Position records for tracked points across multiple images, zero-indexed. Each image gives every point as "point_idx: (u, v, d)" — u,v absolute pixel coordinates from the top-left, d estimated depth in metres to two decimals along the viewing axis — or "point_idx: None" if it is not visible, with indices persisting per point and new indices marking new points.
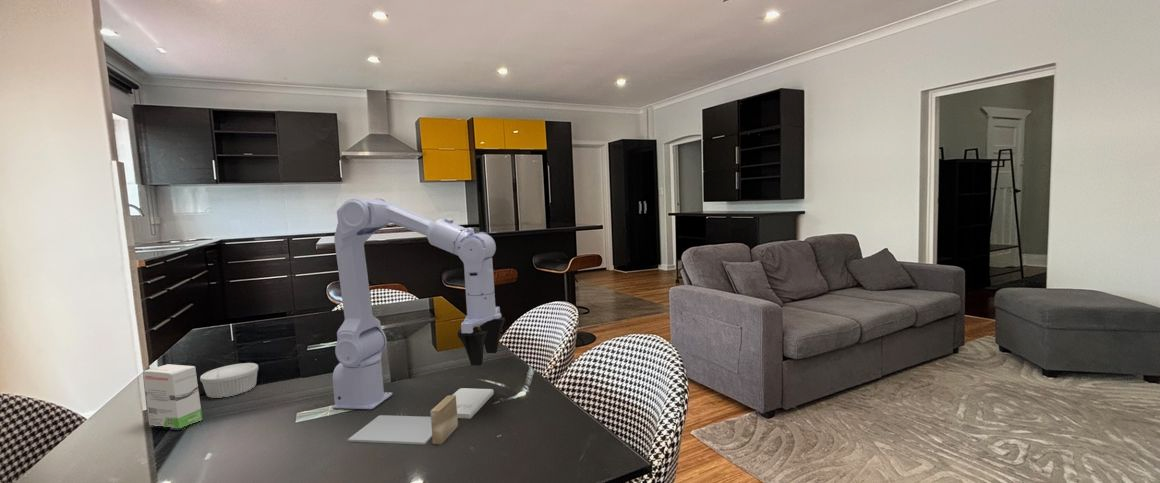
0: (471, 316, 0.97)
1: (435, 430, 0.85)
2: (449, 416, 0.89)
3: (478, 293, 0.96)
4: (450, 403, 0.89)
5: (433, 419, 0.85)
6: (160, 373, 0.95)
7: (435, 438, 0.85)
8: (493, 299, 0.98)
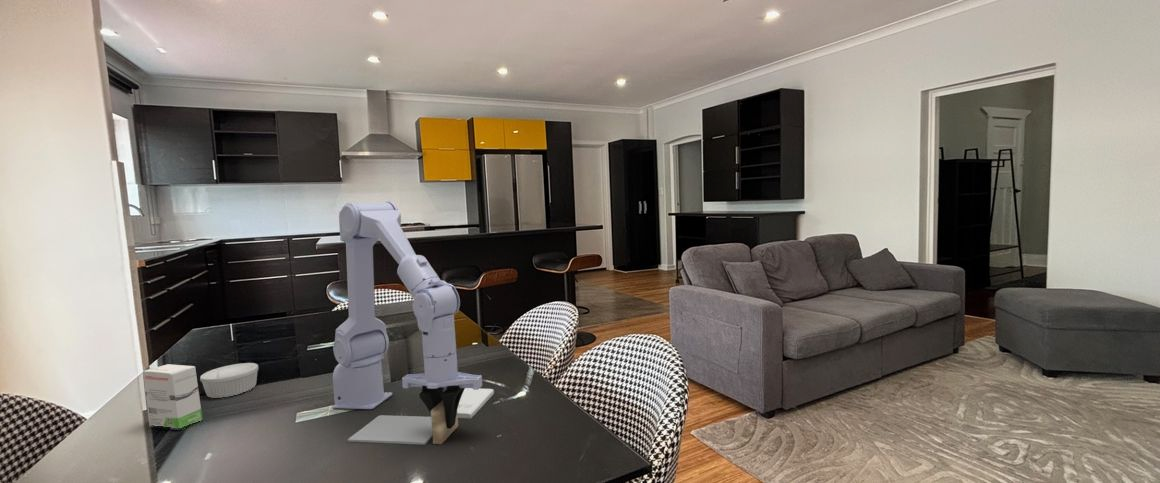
0: None
1: (435, 430, 0.85)
2: None
3: (429, 355, 0.85)
4: None
5: (433, 419, 0.85)
6: (160, 373, 0.95)
7: (435, 438, 0.85)
8: (432, 365, 0.85)
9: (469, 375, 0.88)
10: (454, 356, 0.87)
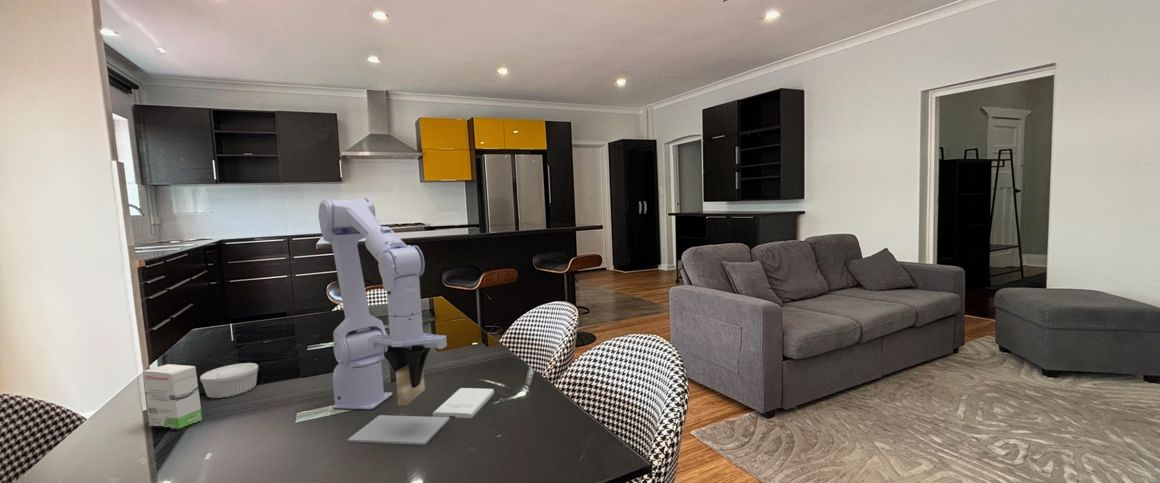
0: None
1: (400, 391, 0.87)
2: None
3: (392, 314, 0.86)
4: None
5: (398, 380, 0.87)
6: (160, 373, 0.96)
7: (400, 399, 0.87)
8: (397, 324, 0.86)
9: (434, 335, 0.90)
10: (419, 316, 0.88)
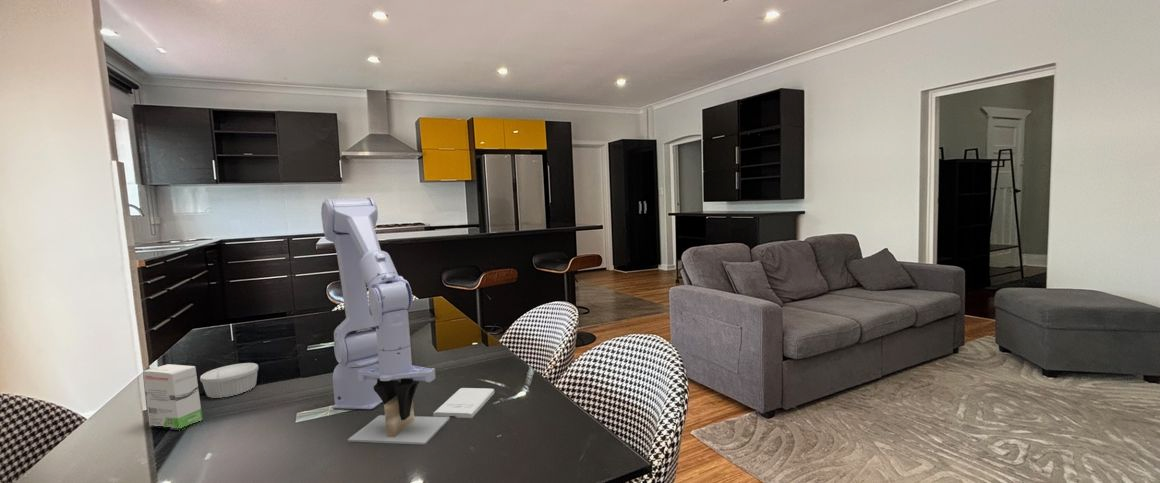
0: None
1: (389, 423, 0.88)
2: None
3: (380, 348, 0.88)
4: None
5: (387, 412, 0.88)
6: (160, 373, 0.96)
7: (389, 431, 0.88)
8: (385, 358, 0.88)
9: (423, 368, 0.91)
10: (407, 349, 0.90)
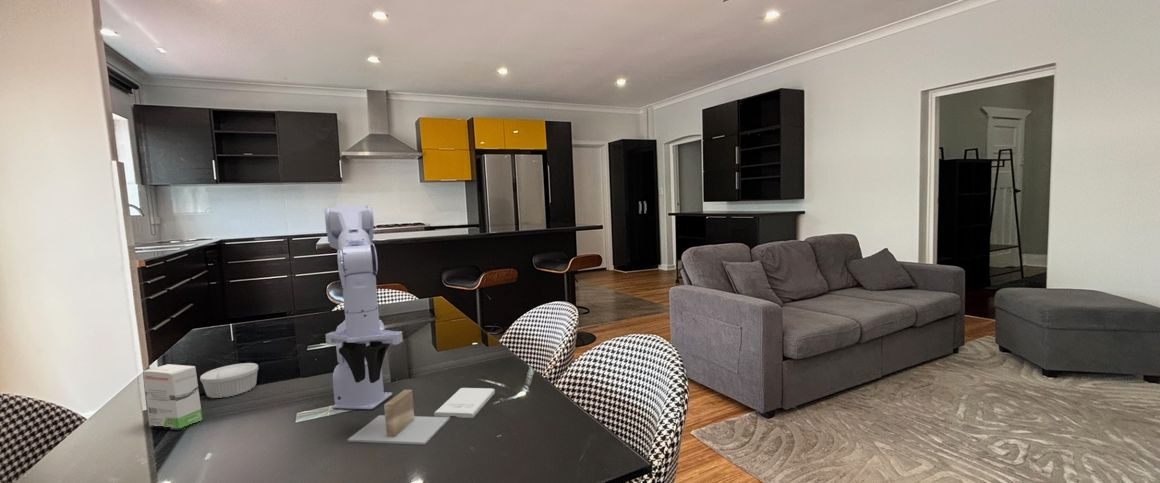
0: None
1: (389, 423, 0.88)
2: (404, 410, 0.91)
3: (345, 310, 0.89)
4: (405, 397, 0.92)
5: (387, 412, 0.88)
6: (160, 373, 0.96)
7: (389, 431, 0.88)
8: (352, 320, 0.88)
9: (390, 331, 0.91)
10: (375, 312, 0.90)
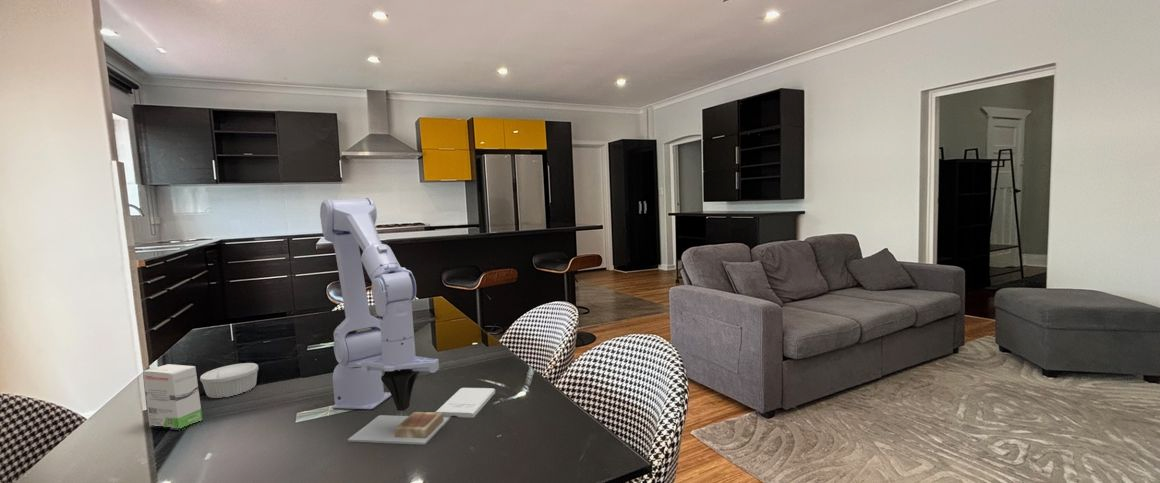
0: None
1: (407, 432, 0.87)
2: None
3: (384, 338, 0.87)
4: None
5: (417, 431, 0.87)
6: (160, 373, 0.96)
7: (400, 431, 0.88)
8: (389, 348, 0.87)
9: (426, 359, 0.91)
10: (411, 340, 0.89)
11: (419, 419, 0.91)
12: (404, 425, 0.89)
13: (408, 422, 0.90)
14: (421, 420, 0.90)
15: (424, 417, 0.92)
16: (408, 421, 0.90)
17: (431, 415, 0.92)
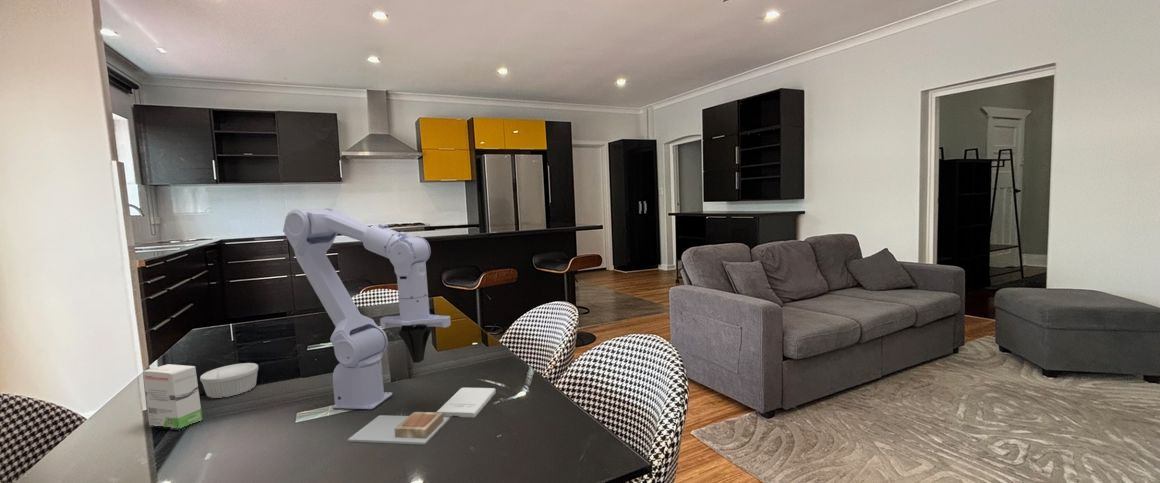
0: None
1: (407, 432, 0.87)
2: None
3: (407, 296, 0.97)
4: None
5: (417, 431, 0.87)
6: (160, 373, 0.96)
7: (400, 431, 0.88)
8: (406, 305, 0.97)
9: (439, 316, 1.00)
10: (426, 298, 0.99)
11: (419, 419, 0.91)
12: (404, 425, 0.89)
13: (408, 422, 0.90)
14: (421, 420, 0.90)
15: (424, 417, 0.92)
16: (408, 421, 0.90)
17: (431, 415, 0.92)
